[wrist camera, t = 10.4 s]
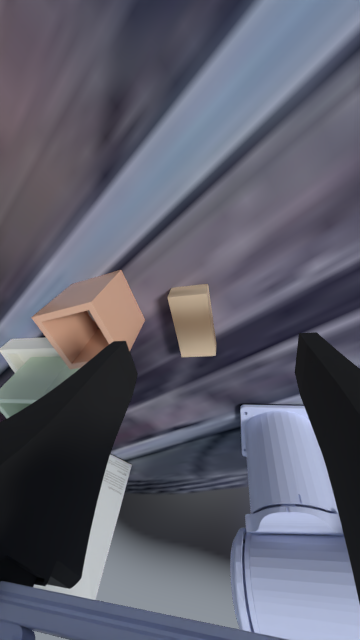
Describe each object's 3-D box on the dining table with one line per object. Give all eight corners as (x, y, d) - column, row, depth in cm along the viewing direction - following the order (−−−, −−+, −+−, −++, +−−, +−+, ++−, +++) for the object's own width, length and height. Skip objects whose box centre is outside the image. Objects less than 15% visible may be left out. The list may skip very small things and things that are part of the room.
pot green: (89, 390, 28) (62, 435, 23) (50, 389, 29) (18, 432, 24) (72, 356, 25) (39, 399, 21) (30, 357, 26) (-10, 398, 22)
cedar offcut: (216, 341, 23) (215, 355, 21) (184, 343, 24) (181, 357, 22) (208, 282, 20) (206, 293, 18) (172, 286, 21) (167, 297, 19)
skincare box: (70, 454, 39) (-7, 601, 26) (88, 439, 35) (10, 599, 23) (114, 477, 41) (64, 624, 28) (136, 465, 38) (89, 625, 25)
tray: (113, 397, 29) (107, 409, 28) (47, 395, 31) (39, 407, 30) (87, 335, 24) (78, 347, 23) (11, 338, 26) (-2, 349, 25)
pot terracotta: (145, 319, 23) (125, 360, 18) (99, 329, 24) (70, 369, 19) (121, 269, 20) (91, 301, 16) (72, 283, 22) (31, 317, 17)
